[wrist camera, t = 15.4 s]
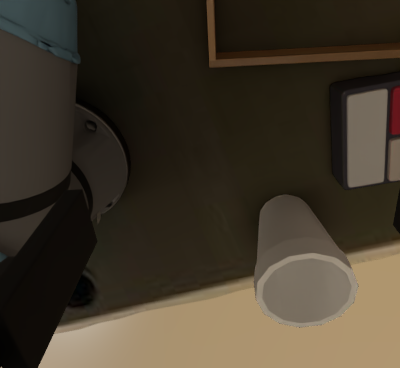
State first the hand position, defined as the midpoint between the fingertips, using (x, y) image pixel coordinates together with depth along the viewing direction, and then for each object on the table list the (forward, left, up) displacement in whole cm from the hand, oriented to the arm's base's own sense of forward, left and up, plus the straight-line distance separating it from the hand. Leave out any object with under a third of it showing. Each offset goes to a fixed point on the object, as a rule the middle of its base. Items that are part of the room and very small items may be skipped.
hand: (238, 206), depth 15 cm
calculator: (+19, -5, -26) cm, 32 cm away
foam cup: (+7, -17, -26) cm, 32 cm away
